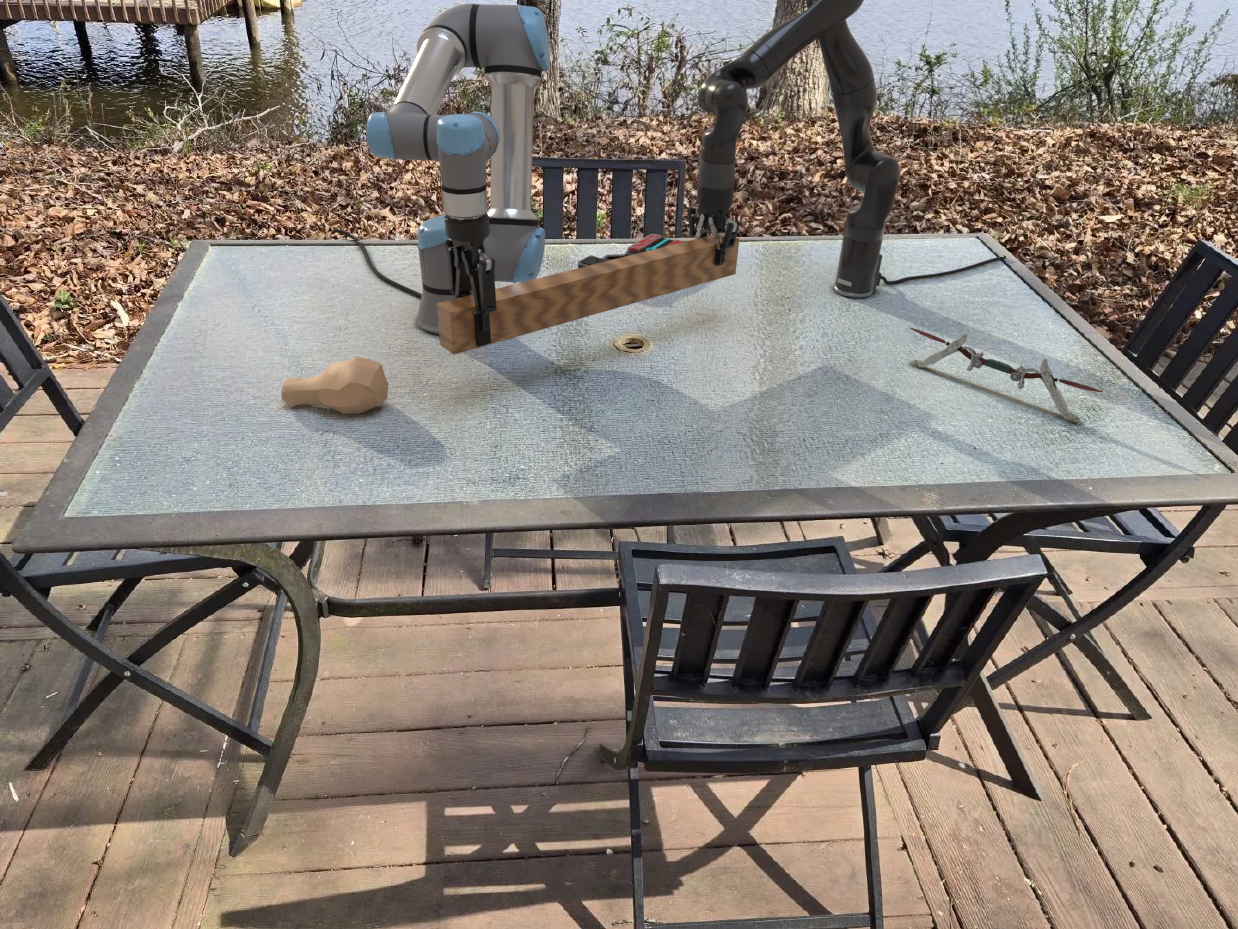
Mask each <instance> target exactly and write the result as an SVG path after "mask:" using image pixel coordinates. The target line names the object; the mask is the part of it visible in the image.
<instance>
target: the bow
mask: <svg viewBox="0 0 1238 929" xmlns="http://www.w3.org/2000/svg"><path fill="white" fill-rule="evenodd" d="M909 329H910V330H911V331H914V332H915V333H917V334H919V335H921V336H923V337H925V338H928V339H930V340H932V341H936V342H939V343H941V344H945V346H946V348H944V349H940V350H938V351H936V352H934V353H931V354H930V355H929V356H927V357H926V358H925V359H923V360H922V359H913V360H912V361H911V364H912V366H914V367H917V368H924V369H927V370H930V371H933V372H935V373H938V374H941V375H944V376H947V377H950V378H952V379H955V380H958V381H960V382H964V383H967V384H969V385H972V386H975V387H977V388H980V389H983V390H986V391H988V392H992V393H994V394H997V395H1000V396H1003V397H1006V398H1008V399H1011V400H1014V401H1016V402H1019V403H1022V404H1025V405H1028V406H1031V407H1033V408H1035V409H1036V408H1037V409H1038V410H1039V409H1040V410H1042V411H1044V412H1048V413H1050V414H1053V415H1055V416H1059V417H1062V418H1063V419H1065V420H1067V421H1069V422H1072V423H1079V421H1081V418H1080V417H1079V416H1078V415H1075V414H1074V413H1072V411H1070V410H1069V406H1068V402H1067V401H1066V399H1065V396H1064V395H1063V393H1062V392H1061V390H1060V389H1059V388H1058V386H1057V384H1056V383H1058V382H1059V383H1061V384H1064V385H1066V386H1070V387H1073V388H1075V389H1081V390H1085V391H1090V392H1095V393H1104V391H1103V390H1101V389H1098V388H1095V387H1093V386H1092V387H1091V386H1089V385H1085V384H1083V383H1079V382H1075V381H1072V380H1067V379H1064V378H1057V377H1055V376H1054V375H1053V374H1054V372H1052V370H1051V368H1050V366H1049V363H1048V359H1047V358H1044V359H1043V360H1042V361H1041V363H1040V368H1039V370H1038V369H1036V368H1034V367H1031V368H1026V367H1024V366H1023V365H1022V364H1021V365H1019V367H1017V368H1016V369H1015V368H1013V367H1012V366H1011V365H1010V364H1008V363H1005V362H1002V361H999V360H996V359H993V358H984V352H983V351H982V352H976V351H975V350H974V349H973V348H972V347H970V346H963V345H964V344H965V343H966V340H967V337H968V333H967V332H965V333H964V334H962V335H961V336H960V337H959V338H957V339H955V340H953V341H952V342H949V341H946V340H944V339H943V338H940V337H938V336H936V335H933V334H931V333H929V332H926V331H923V330H920V329H917V328H914V327H910V326H909ZM958 352H959V353H961V355H963V356H964V357H965V358H967V359H968V360H970V362H969V365H968V366H967V368H966V371H967V372H969V373H970V372H971V371H974V370H973V369H974V368H975V369H977V370H979V369H981V368H982V367H983V366H984V367H987V368H989V369H990V368H991V369H994V370H996V371H999V372H1002V373H1005V374H1009V375H1010V376H1009V379H1011V381H1013V382H1018V383H1017V389H1018V390H1022V389H1024V387H1025V379H1027V380H1031V379H1039V380H1041V382H1042V383H1043V384H1044V386H1045V388H1046V390H1047V391H1048V392H1049V395H1050V397H1051V400H1052V401H1053V403H1054V405H1055V407H1056V409H1057V410H1058V412H1059V413H1060V414H1058V413H1056V412H1053V411H1050V410H1047V409H1045V408H1042V407H1039V406H1036V405H1033V404H1030V403H1028V402H1025V401H1022V400H1019V399H1017V398H1014V397H1011V396H1008V395H1006V394H1002V393H1000V392H997V391H994V390H991V389H989V388H986V387H983V386H981V385H977V384H975V383H971V382H969V381H965V380H964V379H961V378H957V377H954V376H952V375H949V374H946V373H943V372H941V371H938V370H936V369H932V368H929V366H931V365H935V364H936V363H938V362H939V361H941V360H943V359H944V358H946V357H948V356H950V355H953V354H955V353H958Z"/></svg>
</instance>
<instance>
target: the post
mask: <svg viewBox="0 0 1238 929" xmlns="http://www.w3.org/2000/svg"><path fill="white" fill-rule="evenodd" d="M717 233H718V234H720V233H721V232H717ZM720 243H722V240H721V238H720ZM739 246H740V237H737V236H736V240H735V243H734V246H733V247H731V248H727V249H726V253H725V262H724V263H723V265H720V266H716V265H714V258H715V249H716V246H715V240H714V239H713V238H712V234H710V235H707V236H706V237H702V238H698V239H695V238H694V239H691V240H687V241H684V242H682V243H678V244H674V245H670V246H666V247H662V248H658V249H654V250H650V251H646V252H642V253H638V254H634V255H630V256H626V257H622V258H618V259H614V260H610V261H606V262H602V263H598V264H594V265H589V266H585V267H581V268H578V267H577V268H574V269H570V270H566V271H562V272H558V273H553V274H550V275H546V276H545V275H544V276H541V277H537V278H536V279H533V280H529V281H525V282H517V283H512V284H509V285H504V286H501V287H497V288H495V291H496V306H497V310H496V311H494V312H490V314H489V315H490V332H491V343H489V344H486V345H483V346H479V347H478V346H477V345H476V335H475V322H474V314H473V311H476V306H475V301H474V296H473V295H469V296H465V297H461V298H457V299H453V300H449V301H445V302H441V303H437V315H438V325H439V334H438V336H439V345H440V346H441V347H442V348H444V349H445V350H446V351H447V352H449V353H450V354H452V355H453V356H455V355H458V354H461V353H465V352H470V351H472V350H477V349H479V348H482V347H487V346H489V345H493V344H496V343H500V342H503V341H504V342H505V341H507V340H510V339H514V338H518V337H522V336H525V335H528V334H531V333H535V332H539V331H542V330H546V329H549V328H552V327H556V326H559V325H563V324H566V323H567V324H568V323H570V322H573V321H578V320H581V319H584V318H587V317H591V316H594V315H598V314H602V313H605V312H608V311H612V310H615V309H619V308H623V307H626V306H630V305H633V304H636V303H639V302H643V301H647V300H651V299H654V298H657V297H660V296H661V297H662V296H664V295H668V294H671V293H675V292H678V291H681V290H686V289H688V288H692V287H695V286H696V287H697V286H699V285H703V284H707V283H710V282H713V281H717V280H721V279H723V278H724V279H725V278H727V277H731V276H734V275H737V267H738V264H737V263H738V255H739V248H740V247H739Z"/></svg>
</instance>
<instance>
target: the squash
mask: <svg viewBox="0 0 1238 929" xmlns="http://www.w3.org/2000/svg"><path fill="white" fill-rule="evenodd" d="M388 394H389V382H388V379H387V377H386V374H385V371H384V369H383V365H382V363H381V362H379V361H376V360H373V359H370V358H366V357H360V356H355V357H353V358H349V359H346V360H342V361H335V362H332V363H331V364H329V365H328V366H327V367H326V368H325V369H324V370H323V371H322V372H321V373H319V374H317V375H315V376H310V377H302V378H297V377H295V378H293V377H290V378H286V379H284V381H283V385H282V387H281V400H282V401H283V402H284V403H285V404H286V405H287V406H289V407H291V406H298V405H311V404H314V405H321V406H326V407H328V408H330V409H332V410H334V411H336V412H338V413H341V414H343V415H354V414H355V415H356V414H364V413H365V412H368V411H370V410H372V409H374V408H376V407H378V406H380V405H382V404H383V403H384V402H385V401H386V400H387V399H388Z"/></svg>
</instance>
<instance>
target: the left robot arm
mask: <svg viewBox="0 0 1238 929" xmlns="http://www.w3.org/2000/svg"><path fill="white" fill-rule="evenodd" d="M416 53H417V54H416V57H415V59H414V61H413V63H412V65H411V67H410V69H409V71H408V73H407V75H406V77H405V79H404V81H403V83H402V86H401V88H400V90H399V91H398V94H397V96H396V97H395V100H394V101H393V103H392V105H391V108H390V110H389V112H387V111H384V110H383V111H380V112H372V113H370V115H369V116H368V118H367V121H366V128H365V131H366V133H365V134H366V141H367V145H368V149H369V151H370V152H371V154H372V155H373V156H374V157H375V158H378V159H379V158H380V159H391V160H393V161H396V160H404V161H405V160H406V161H432V162H439V172H440V181H441V182H440V183H441V199H442V210H443V213H444V214H442V215H437V216H434V217H431V218H428V219H427V220H425V221H423V222H422V223H421V224H420V225H419V226H418V229H417V247H416V248H417V249H418V258H419V267H420V275H421V276H420V277H421V284H422V292H421V293H420V292H419V291H416V290H414V289H411V288H410V287H407V286H404V285H403V284H401V283H398V282H396V281H394V280H392V279H390V278H388V277H387V276H385V275H384V274H382V273H381V272H380V271H378V269H377V268H376V267H375V266H374V264H373V263H372V260H371V258H370V256H369V254H368V252H367V249H366V247H365V245H364V244H363V243H362V242H361V243H360V242H356V241H361V240H360V239H359V238H358V237H357V236H355V235H353V234H351V233H350V232H348V231H345V230H343V229H340V228H334V229H333V230H331V232H330V235H335V234H337V233H339V234H342V235H345V236H346V237H348V238H349V239H352V240H353V241H355V242H356V244H358V246H359V247H360V249H361V251H362V253H363V256H364V258H365V261H366V263H367V265H368V267H369V268H370V269H371V271H372V272H373V273H374V274H375V275H376V276H377V277H379V279H381V280H382V281H384V282H386V283H388V284H389V285H391V286H394V287H396V288H398V289H401V290H402V291H404V292H406V293H409V294H410V295H413V296H415V297H418V298H419V299H420V302H419V305H418V310H417V315H416V318H417V325H418V326H419V328H420V329H421V330H423V331H424V332H427V333H430V334H433V335H439V325H438V315H437V303H441V302H445V301H449V300H453V299H457V298H461V297H465V296H469V295H473V296H474V301H475V306H476V311H473V314H474V322H475V335H476V345H477V346H478V347H479V346H483V345H486V344H489V343H491V332H490V315H489V314H490V312H494V311H496V310H497V306H496V291H495V289H496V282H502V283H512V284H517V283H521V282H525V281H529V280H533V279H537V278H538V277H539V274H540V271H541V268H542V264H543V261H544V260H543V259H544V254H545V247H546V231H545V229H544V228H543V227H541V226H539V218H538V216H536V214H535V213H534V212H533V211H532V189H533V188H532V187H533V186H532V185H533V184H532V183H533V182H532V181H533V145H534V144H533V142H534V141H533V140H534V138H533V137H534V97H535V96H534V93H535V92H534V91H535V88H536V87H537V86H538V85H540V83H541V82H542V76H543V75H542V73H543V72H548V71H549V70H550V67H551V52H550V40H549V34H548V28H547V23H546V18H545V16H544V14H543V12H542V11H541V9H540V8H538V7H535V6H528V5H522V4H486V3H485V4H483V3H482V4H481V3H480V4H479V3H463V4H459V5H456V6H453V7H450V8H449V9H446V10H445V11H443V12H441V13H440V14H439V15H437V16H436V17H434V18H433V19H432V20H431V21H430V22H428V24H427V25H426V26H425V28H423V30H422V32H421V34H420V36H419V38H418V40H417V43H416ZM464 68H476V69H483V76H484V77H483V78H484V79H485V80H486V81H487V82H488V83H489V85H490V86H491V102H490V103H491V104H490V106H491V108H490V109H491V112H490V114H488V113H485V112H483V111H473V112H469V113H467V114H465V113H454V114H448V115H445V114H444V115H443V114H438V113H439V110H440V108H441V107H442V106H441V105H442V103H443V101H444V99H445V97H446V94H447V92H448V90H449V88H450V85H451V83H452V80H453V78H454V76H456V75H457V74H459V73H460V72H461V71H462V69H464ZM489 160H490V192H489V191H488V183H487V182H488V181H487V162H488V161H489ZM489 193H490V197H489V200H490V201H489V200H488V195H489ZM489 202H490V203H489ZM489 204H490V205H489ZM486 346H487V345H486ZM483 347H484V346H483ZM479 348H480V347H479Z"/></svg>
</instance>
